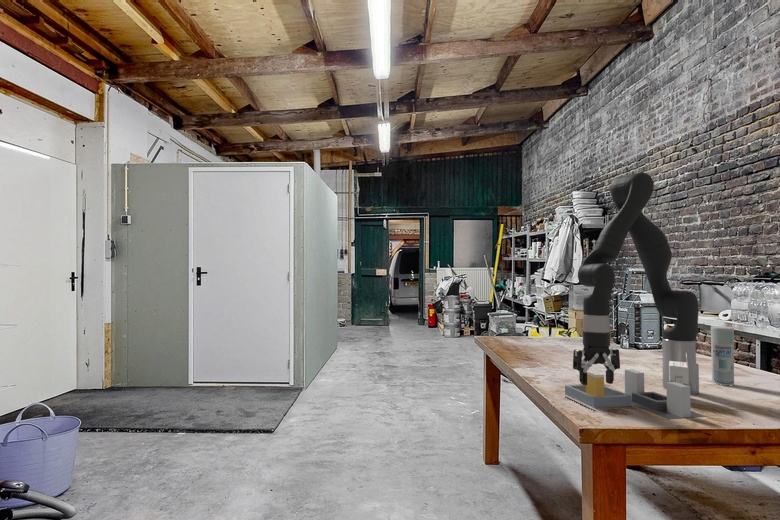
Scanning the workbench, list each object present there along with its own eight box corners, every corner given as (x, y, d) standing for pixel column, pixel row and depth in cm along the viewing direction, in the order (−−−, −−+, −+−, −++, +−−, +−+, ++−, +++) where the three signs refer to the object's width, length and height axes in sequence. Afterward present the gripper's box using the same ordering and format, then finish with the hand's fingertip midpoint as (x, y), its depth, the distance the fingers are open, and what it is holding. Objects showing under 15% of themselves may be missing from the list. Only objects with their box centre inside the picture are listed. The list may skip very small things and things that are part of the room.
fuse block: (644, 397, 138) (643, 368, 138) (707, 420, 117) (706, 386, 117) (610, 399, 136) (610, 369, 136) (668, 423, 114) (668, 388, 114)
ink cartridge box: (669, 398, 137) (668, 350, 138) (688, 400, 135) (687, 352, 135) (669, 404, 130) (668, 355, 130) (689, 407, 127) (689, 356, 128)
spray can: (733, 383, 156) (732, 326, 156) (735, 387, 150) (734, 328, 151) (710, 380, 159) (710, 325, 160) (712, 384, 154) (711, 327, 154)
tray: (599, 395, 139) (599, 383, 140) (631, 409, 126) (631, 395, 126) (565, 397, 137) (564, 385, 137) (594, 411, 123) (594, 398, 124)
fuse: (593, 397, 135) (593, 370, 135) (604, 401, 130) (604, 374, 130) (585, 397, 135) (585, 371, 135) (596, 402, 130) (596, 374, 130)
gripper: (608, 327, 137) (609, 380, 137) (567, 328, 134) (567, 382, 134) (625, 330, 130) (626, 386, 129) (582, 332, 127) (583, 388, 127)
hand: (596, 384), depth 132 cm, fingers open, 8 cm apart
